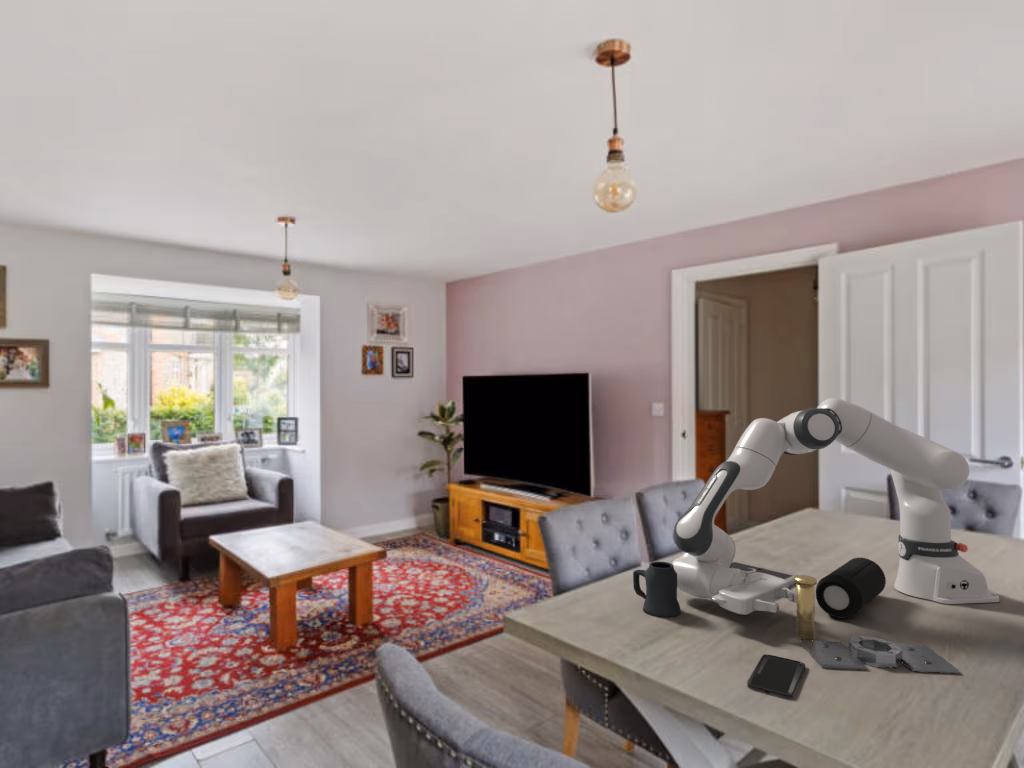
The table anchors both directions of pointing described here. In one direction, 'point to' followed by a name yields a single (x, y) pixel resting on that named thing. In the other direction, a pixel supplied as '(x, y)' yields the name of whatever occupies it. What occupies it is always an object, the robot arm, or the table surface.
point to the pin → (805, 606)
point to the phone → (776, 676)
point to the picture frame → (765, 571)
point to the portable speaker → (850, 587)
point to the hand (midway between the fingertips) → (788, 603)
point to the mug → (659, 590)
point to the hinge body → (876, 655)
